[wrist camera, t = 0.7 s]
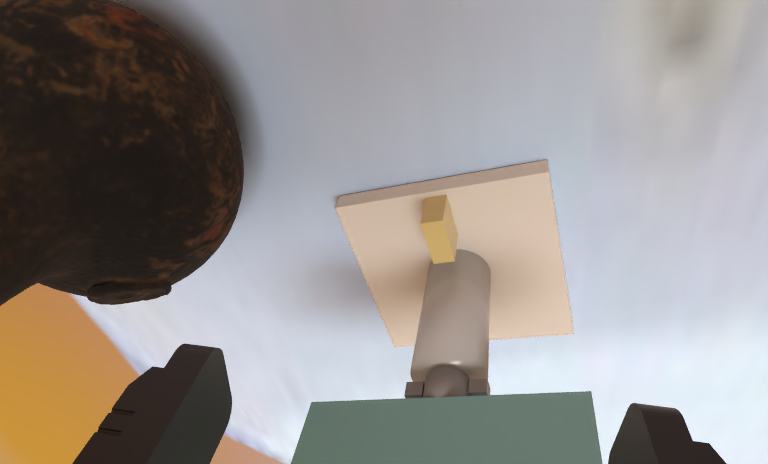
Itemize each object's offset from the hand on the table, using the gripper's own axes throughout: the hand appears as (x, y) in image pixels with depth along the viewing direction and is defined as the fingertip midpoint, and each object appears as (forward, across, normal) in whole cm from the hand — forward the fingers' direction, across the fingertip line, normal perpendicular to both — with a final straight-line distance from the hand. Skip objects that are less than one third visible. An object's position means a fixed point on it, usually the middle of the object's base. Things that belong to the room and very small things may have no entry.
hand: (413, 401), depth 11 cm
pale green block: (+14, -1, +15) cm, 20 cm away
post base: (+25, -2, +14) cm, 28 cm away
